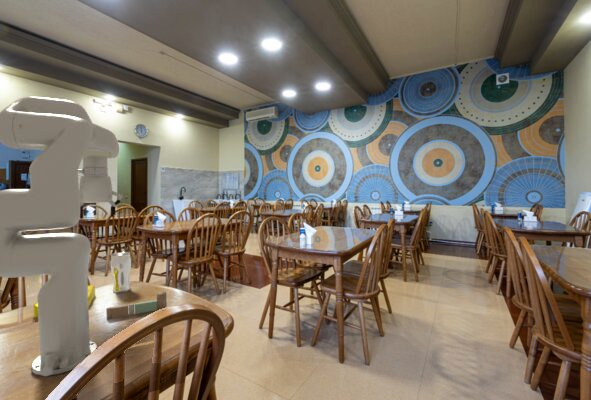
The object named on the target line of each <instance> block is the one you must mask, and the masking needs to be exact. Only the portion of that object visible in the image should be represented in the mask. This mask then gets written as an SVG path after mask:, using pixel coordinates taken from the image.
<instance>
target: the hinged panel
mask: <svg viewBox="0 0 591 400" xmlns="http://www.w3.org/2000/svg"><path fill="white" fill-rule="evenodd" d="M165 307H167V292H166V291H164V290H163V291H159V292H157V293H156V299H154V300H148V301H141V302H136V303H134V315H139V314H144V313H150V312H156V311H158V310H159V309H162V308H165Z"/></svg>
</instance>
